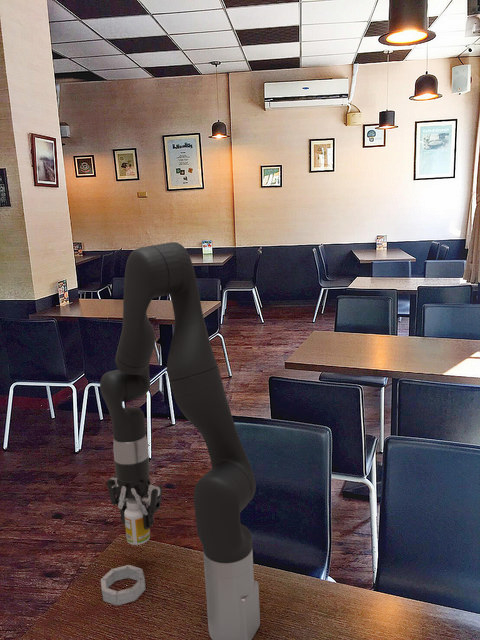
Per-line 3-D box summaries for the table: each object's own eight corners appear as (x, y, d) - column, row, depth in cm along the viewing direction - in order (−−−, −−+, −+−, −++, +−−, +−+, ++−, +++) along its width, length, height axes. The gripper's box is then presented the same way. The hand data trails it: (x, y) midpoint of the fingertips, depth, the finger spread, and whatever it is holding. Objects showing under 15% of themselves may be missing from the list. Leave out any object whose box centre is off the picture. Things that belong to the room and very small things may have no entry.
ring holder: (152, 581, 113) (151, 571, 113) (127, 609, 105) (126, 598, 105) (120, 571, 117) (119, 562, 117) (93, 597, 109) (92, 587, 109)
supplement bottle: (153, 531, 120) (150, 493, 118) (146, 545, 115) (143, 505, 113) (130, 531, 120) (127, 493, 119) (123, 545, 115) (119, 505, 113)
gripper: (167, 453, 114) (172, 522, 117) (116, 444, 120) (122, 510, 123) (148, 467, 108) (154, 540, 110) (94, 457, 114) (101, 527, 117)
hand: (137, 524), depth 117 cm, fingers closed on supplement bottle, 5 cm apart
